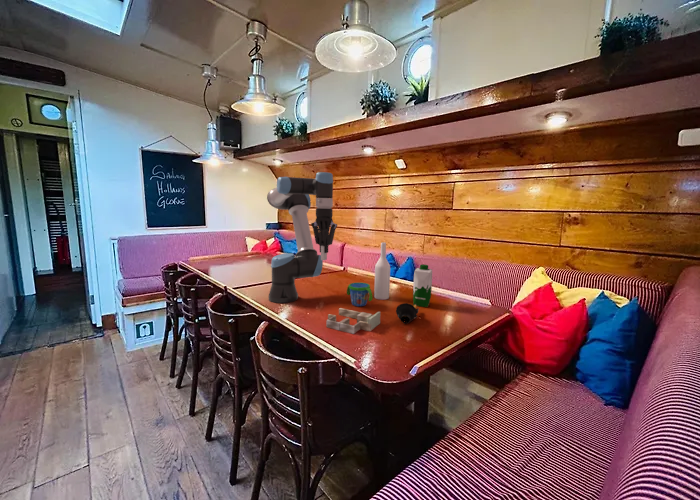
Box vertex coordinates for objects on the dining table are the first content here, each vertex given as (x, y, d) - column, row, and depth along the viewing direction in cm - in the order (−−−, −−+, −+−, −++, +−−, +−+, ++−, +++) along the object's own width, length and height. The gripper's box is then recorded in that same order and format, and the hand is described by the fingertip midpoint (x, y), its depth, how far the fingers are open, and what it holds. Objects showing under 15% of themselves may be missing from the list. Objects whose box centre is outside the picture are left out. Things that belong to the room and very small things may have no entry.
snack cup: (341, 302, 158) (341, 283, 156) (356, 298, 164) (357, 280, 163) (361, 310, 146) (361, 290, 144) (377, 306, 152) (378, 286, 151)
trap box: (320, 325, 127) (320, 314, 127) (339, 314, 141) (340, 303, 140) (363, 336, 118) (364, 324, 117) (380, 323, 131) (380, 311, 131)
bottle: (378, 294, 173) (380, 241, 168) (391, 297, 168) (393, 242, 164) (371, 297, 166) (373, 242, 162) (384, 300, 162) (386, 244, 157)
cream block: (357, 325, 129) (357, 315, 128) (361, 322, 132) (362, 312, 132) (366, 327, 126) (367, 317, 126) (371, 324, 130) (371, 314, 130)
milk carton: (431, 303, 159) (433, 265, 156) (429, 308, 151) (431, 268, 148) (414, 300, 163) (416, 263, 160) (411, 305, 154) (413, 266, 151)
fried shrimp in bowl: (391, 314, 129) (395, 290, 145) (401, 334, 133) (404, 308, 148) (412, 309, 126) (414, 285, 141) (421, 329, 129) (422, 303, 145)
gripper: (307, 207, 138) (307, 259, 141) (332, 208, 132) (331, 262, 135) (317, 207, 144) (316, 257, 148) (341, 208, 138) (340, 260, 142)
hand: (323, 259), depth 142 cm, fingers closed
